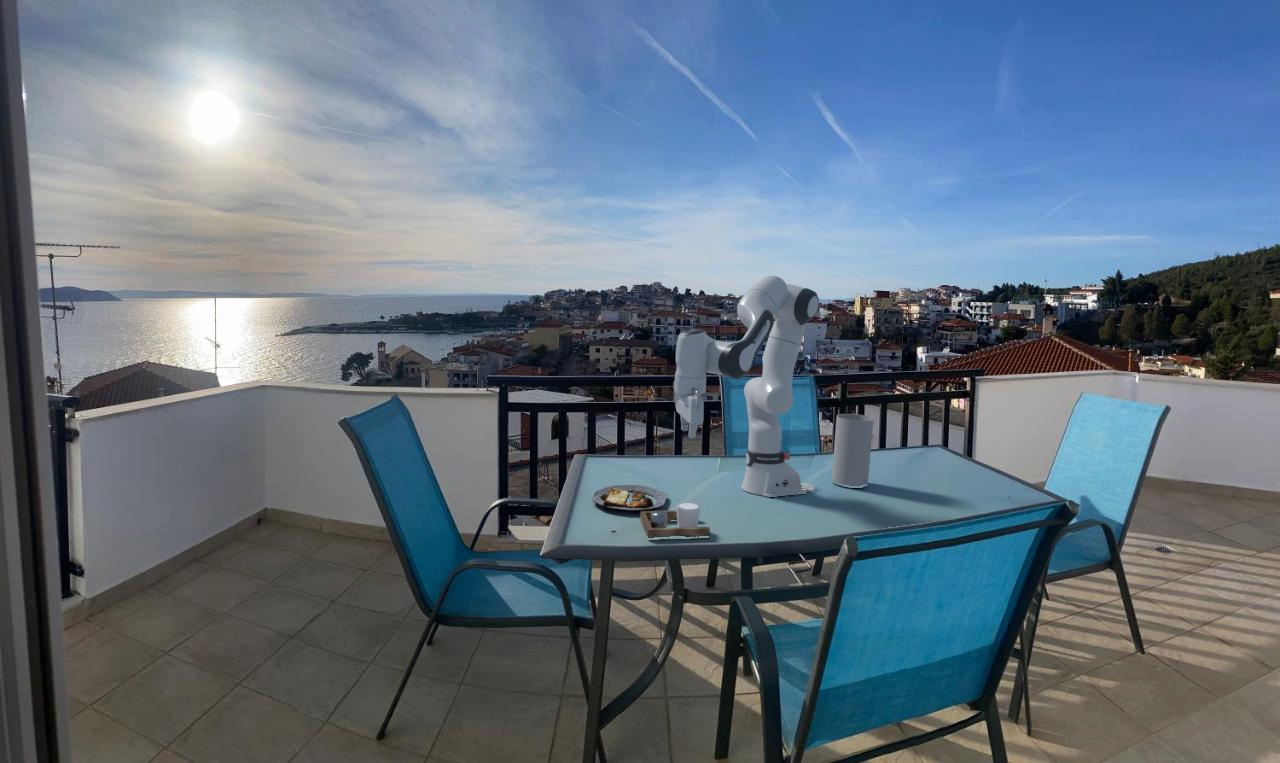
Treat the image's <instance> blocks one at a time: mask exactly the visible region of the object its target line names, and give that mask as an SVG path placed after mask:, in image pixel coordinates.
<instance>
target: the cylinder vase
mask: <svg viewBox="0 0 1280 763" xmlns="http://www.w3.org/2000/svg"><path fill="white" fill-rule="evenodd" d="M873 426H874V418H873V417H872V416H868V415H864V414H863V415H862V414H856V413H841V414H840V413H839V414H836V418H835V434H834V446H833V459H832V470H831V471H832V473H831V481H832V480H833V481H834V482H836V483H839V484H843V485H849V486H861V485H865V484H867V483H868V484H869V474H870V462H871V461H870V460H871V453H872V452H871V451H872V438H873V428H874V427H873Z"/></svg>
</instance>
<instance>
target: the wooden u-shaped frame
mask: <svg viewBox="0 0 1280 763" xmlns="http://www.w3.org/2000/svg"><path fill="white" fill-rule="evenodd" d="M653 511H654V510H640V514H639V515H640V516H639V517H640V519H639V520H640V521H641V522H640V521H639V522H640V523H642V524H641V526H642V525H643V527H642V529H643V528H644V529H643V531H644V530H645V532H646V534H647V536H648V538H654V537H670V536H685V537H692V536H693V537H696V536H697V537H699V536H710V535H711V534H710V533H711V532H710V531H711V528H710V526H698V527H681V528H678V527H667V528H652V527H651V522H649V521H651V512H653ZM664 511H665V512H666V513H667V521H671V520H677V510H664ZM645 532H644V533H645ZM646 534H645V535H646Z"/></svg>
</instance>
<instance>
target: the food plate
mask: <svg viewBox="0 0 1280 763" xmlns="http://www.w3.org/2000/svg"><path fill="white" fill-rule="evenodd" d="M629 492H630V493H633V494H631V497H632V501H631V500H630V501H631V502H629V503H630V504H626V502H627V499H628V495H629V496H630V494H629ZM645 495H648V496H651V497H653V498H654V499H655V500H656V502H657V503H656V504H655V505H653V501H654V500H653V501H652V498H650V497H648V496H647V497H644V496H645ZM643 497H644V498H643ZM642 498H643V499H645V500H643V501H642V500H641V499H642ZM667 498H668V494H667V493H666V492H664V491H662V490H660V489H657V488H654V487H650V486H647V485H646V486H645V485H639V484H637V485H636V484H634V485H633V484H623V485H622V484H620V485H610V486H606V487H605V486H604V487H603V488H601V489H597V490H596V492H594V495H593V497H592V498H591V499H592V502H593V503H595V504H597V505H599V506H601V507H602V508H603V507H605V508H607V509H613V510H621V511H626V512H632V511H633V512H635V511H651V510H656V509H658V508H659V507H660V508H662V507H663V506H665V503H666V501H667ZM640 500H641V501H640ZM658 503H659V504H658Z"/></svg>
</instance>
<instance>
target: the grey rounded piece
mask: <svg viewBox="0 0 1280 763" xmlns="http://www.w3.org/2000/svg"><path fill="white" fill-rule="evenodd" d="M652 511H653V512H651V522H650V525H651V527H652V528H668V527H667V526H668V522H667V513H666V512H665V511H666V510H652Z"/></svg>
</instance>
